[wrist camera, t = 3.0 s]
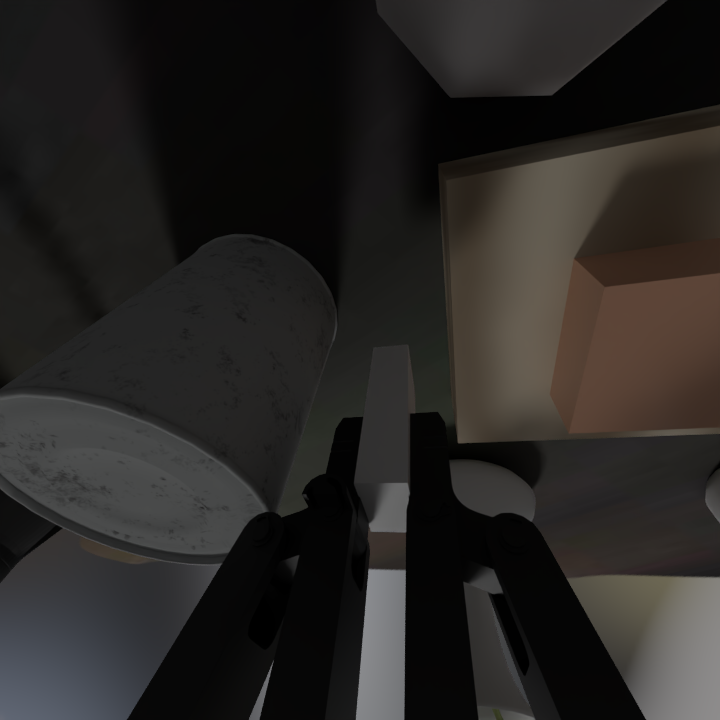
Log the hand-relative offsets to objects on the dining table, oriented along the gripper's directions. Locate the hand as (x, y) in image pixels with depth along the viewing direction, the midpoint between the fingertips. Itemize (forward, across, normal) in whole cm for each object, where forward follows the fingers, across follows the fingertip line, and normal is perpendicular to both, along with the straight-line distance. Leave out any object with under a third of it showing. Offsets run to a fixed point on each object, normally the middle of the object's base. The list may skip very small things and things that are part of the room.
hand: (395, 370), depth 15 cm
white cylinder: (+6, -8, +1) cm, 10 cm away
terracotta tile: (+2, +11, 0) cm, 11 cm away
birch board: (+6, +10, 0) cm, 11 cm away
